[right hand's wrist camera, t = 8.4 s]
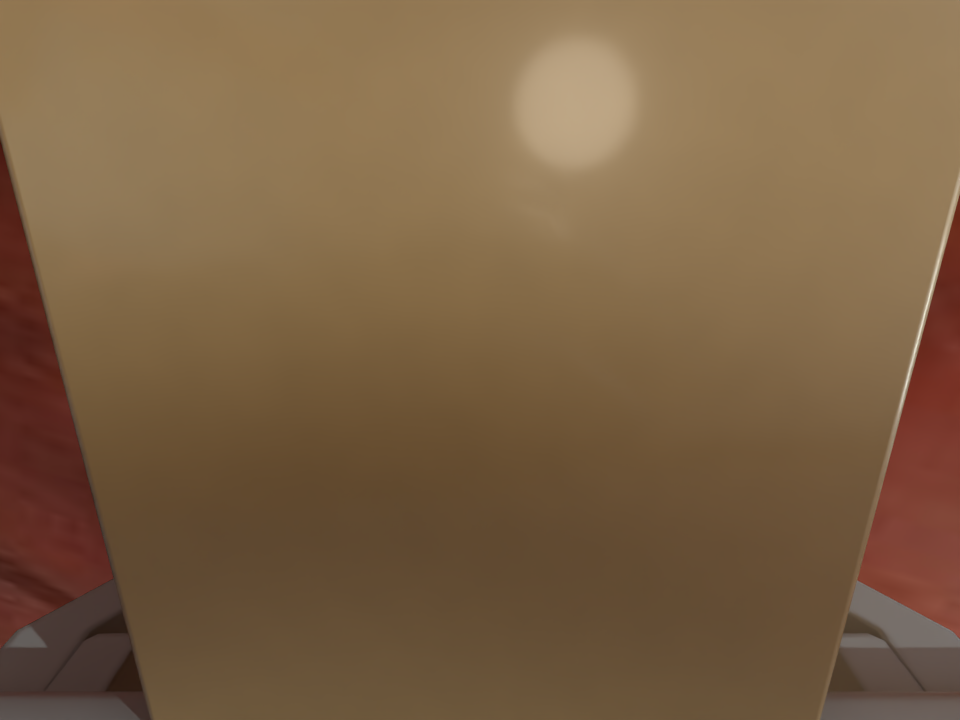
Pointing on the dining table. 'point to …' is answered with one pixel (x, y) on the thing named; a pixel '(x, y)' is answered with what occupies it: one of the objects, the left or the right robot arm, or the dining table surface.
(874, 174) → the bar
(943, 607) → the dining table surface
